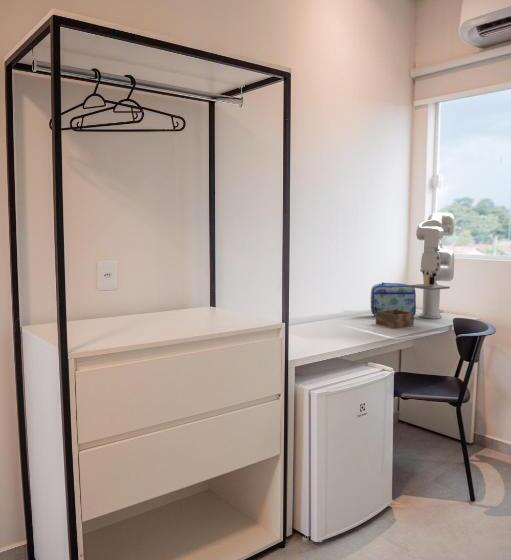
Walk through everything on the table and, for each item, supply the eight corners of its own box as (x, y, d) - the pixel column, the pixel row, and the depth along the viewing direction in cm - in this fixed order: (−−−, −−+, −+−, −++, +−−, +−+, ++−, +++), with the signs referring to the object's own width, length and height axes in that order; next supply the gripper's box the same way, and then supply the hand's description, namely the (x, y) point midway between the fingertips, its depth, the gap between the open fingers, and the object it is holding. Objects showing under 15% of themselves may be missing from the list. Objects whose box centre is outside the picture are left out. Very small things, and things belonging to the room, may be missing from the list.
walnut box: (394, 323, 297) (394, 309, 296) (413, 327, 285) (414, 313, 284) (376, 325, 290) (376, 311, 289) (395, 330, 278) (395, 315, 277)
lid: (427, 285, 297) (428, 273, 296) (449, 288, 285) (450, 275, 284) (408, 286, 289) (409, 274, 289) (431, 290, 277) (431, 276, 276)
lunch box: (370, 318, 310) (372, 283, 308) (368, 315, 321) (370, 281, 318) (416, 319, 308) (417, 284, 305) (412, 316, 318) (414, 282, 316)
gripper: (447, 251, 280) (446, 285, 282) (423, 249, 293) (422, 282, 295) (438, 251, 276) (436, 286, 278) (414, 249, 289) (413, 282, 292)
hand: (429, 283), depth 287 cm, fingers closed on lid, 2 cm apart
